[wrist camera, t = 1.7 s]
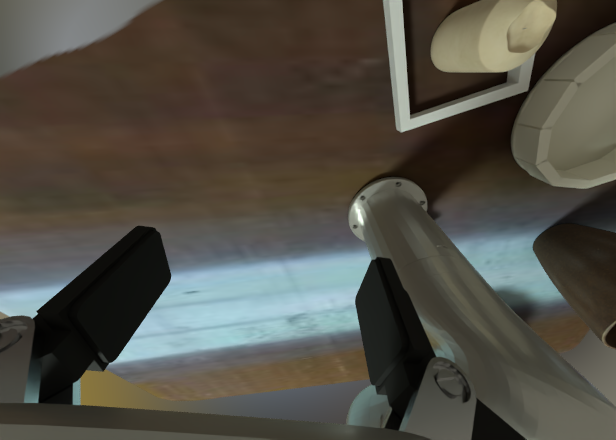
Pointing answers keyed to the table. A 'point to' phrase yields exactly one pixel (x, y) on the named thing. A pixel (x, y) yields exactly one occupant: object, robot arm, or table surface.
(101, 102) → the table surface
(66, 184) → the table surface
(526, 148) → the bowl
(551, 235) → the plant pot
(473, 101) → the white square frame
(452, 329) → the robot arm
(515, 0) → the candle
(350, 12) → the table surface
